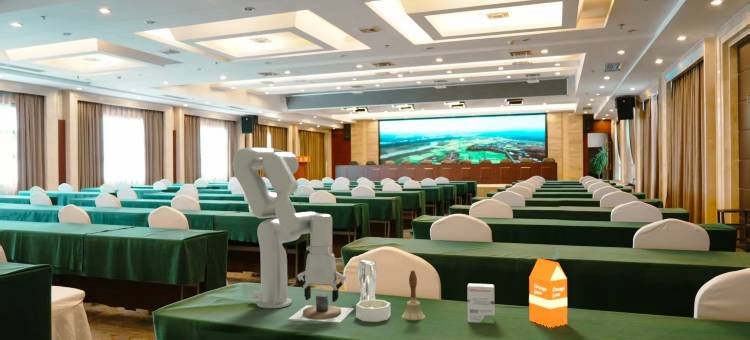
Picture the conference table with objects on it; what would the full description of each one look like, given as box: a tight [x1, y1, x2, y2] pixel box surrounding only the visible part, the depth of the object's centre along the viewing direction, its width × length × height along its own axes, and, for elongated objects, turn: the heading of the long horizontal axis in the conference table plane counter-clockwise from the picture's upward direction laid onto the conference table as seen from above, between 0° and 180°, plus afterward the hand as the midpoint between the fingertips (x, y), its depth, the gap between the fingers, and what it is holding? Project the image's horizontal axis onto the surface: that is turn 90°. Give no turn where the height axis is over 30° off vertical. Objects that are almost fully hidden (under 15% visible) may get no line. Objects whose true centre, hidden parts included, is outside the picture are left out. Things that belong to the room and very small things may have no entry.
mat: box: [287, 304, 355, 323], centre depth 176 cm, size 18×16×1 cm
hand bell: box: [401, 270, 426, 321], centre depth 171 cm, size 8×8×16 cm
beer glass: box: [357, 259, 378, 301], centre depth 192 cm, size 7×7×15 cm
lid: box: [303, 293, 342, 319], centre depth 176 cm, size 13×13×6 cm
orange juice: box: [528, 257, 568, 329], centre depth 166 cm, size 8×9×20 cm
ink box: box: [466, 282, 496, 324], centre depth 168 cm, size 9×5×12 cm, turn 76°
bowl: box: [355, 299, 392, 323], centre depth 172 cm, size 11×11×5 cm
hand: (321, 300), depth 176 cm, fingers open, 9 cm apart
